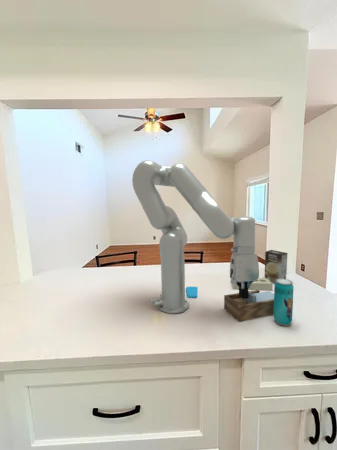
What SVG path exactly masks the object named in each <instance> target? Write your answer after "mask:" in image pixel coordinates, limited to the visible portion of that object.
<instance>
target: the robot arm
mask: <svg viewBox="0 0 337 450" xmlns="http://www.w3.org/2000/svg"><path fill="white" fill-rule="evenodd" d="M131 180H132V182H131V184H132V188H133V190H134V194H135V196H136V197H137V199H138V201H139V203H140V205H141V207H142V209H143V211H144V213H145V216H146V217H147V220H148V221H149V224H150V225H151V226H152V227H153V229H155V230H160V231H161V232H162V235H161V237H160V239H159V243H158V244H159V245H158V248H159V255H160V271H161V273H160V274H161V275H160V277H161V283H160V284H161V294H159V296H158V297H157V298H150V302H149V303H150V305H153V304H154V306H155V307H158V309H159V310H160V311H161V312H162V313H166V314H181V313H184V312H186V311H187V310H188V309H189V306H190V303H189V301H187V299H186V287H185V285H186V281H185V280H186V275H185V273H186V271H185V270H186V269H185V268H186V267H185V266H186V264H185V247H186V245H187V243H188V235H187V232H186V230H185V228H184V227H183V224H182V223H181V220H180V218H179V217H178V215H177V213H176V211H175V210H174V209H173V208H172V207H170V206H168V205H166V203H165V202H164V200H163V199H162V196H161V194H160V192H159V191H158V190H157V188H156V186H162V187H163V186H165V187H172V188H175V189H176V190H177V191H178V193H180V195H181V196H182V198H184V200H185V201H186V203H188V204H189V206H190V207H191V209H192V210H193V211H194V212H195V213H196V214H197V216H198V217H199V219H200V220H201V221H202V222H203V224H204V225H205V226H206V227H207V228H208V230H210V232H211V233H212V234H213V235H214V236H215V237H216V238H219V239H220V240H221V239H222V240H226V239H229V238H230V237H232V235H233V245H232V248H230V251H231V252H232V253H231V257H230V264H229V279H230V284H231V283H232V284H235V285H238V286H239V290H238V293H239V296H240V297H241V298H243V299H248V291H249V290H248V288H250V285H251V283H252V282H254V281H256V280H257V279H258V278H260V265H259V257H258V253H256V251H255V250H256V244H255V243H256V220H255V218H254V217H252V216H238V217H237V216H236V217H234V216H233V217H232V216H228V215H227V214H226V213H225V212H224V211H223V210H222V208H221V207H220V206H219V204H217V202H216V201H215V199H214V198H213V197H212V195H211V193H210V192H209V191H208V190H207V188H205V186H204V184H202V182H201V181H200V180H199V179H198V178H197V177H196V175H195V174H194V173H193V172H192V171H191V169H189V167H188V166H187V165H185V164H183V163H175V164H173V165H172V166H167V165H160V164H158V163H157V162H156V161H153V160H148V159H147V160H143V161H141V162H139V163H137V166H136V167H135V169H134V170H133V173H132V179H131ZM232 284H231V285H232Z"/></svg>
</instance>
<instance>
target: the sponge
mask: <svg viewBox="0 0 337 450" xmlns="http://www.w3.org/2000/svg"><path fill="white" fill-rule="evenodd" d="M185 294H186V296H187V298H188V299H197V298H198V286H186V287H185Z"/></svg>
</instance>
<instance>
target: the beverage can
mask: <svg viewBox="0 0 337 450" xmlns="http://www.w3.org/2000/svg"><path fill="white" fill-rule="evenodd" d="M293 284H294V283H293V281H292V280H290V279H287V278H286V279H276V282H275V283H274V288H273V289H274V290H273V291H274V292H273V294H274V315H273V320H274V322H275V323H276V324H277V325H279V326H283V327H288V326H290V325H291V324H292V321H293V309H294V308H293V306H294V285H293Z"/></svg>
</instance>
